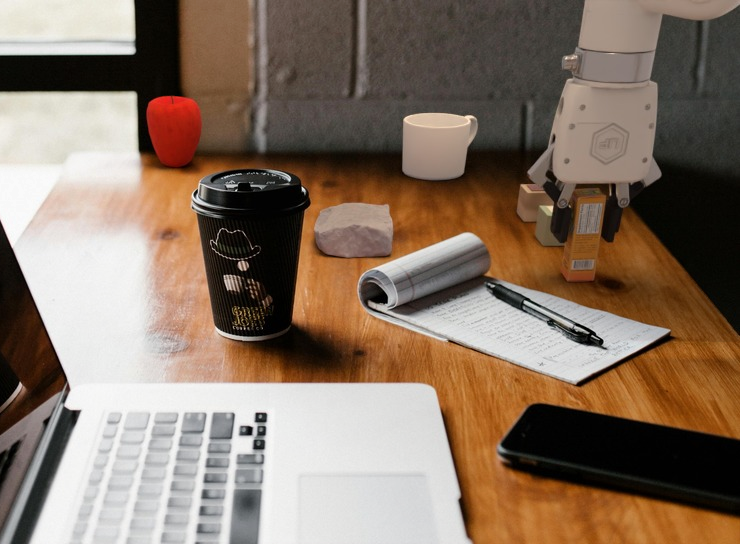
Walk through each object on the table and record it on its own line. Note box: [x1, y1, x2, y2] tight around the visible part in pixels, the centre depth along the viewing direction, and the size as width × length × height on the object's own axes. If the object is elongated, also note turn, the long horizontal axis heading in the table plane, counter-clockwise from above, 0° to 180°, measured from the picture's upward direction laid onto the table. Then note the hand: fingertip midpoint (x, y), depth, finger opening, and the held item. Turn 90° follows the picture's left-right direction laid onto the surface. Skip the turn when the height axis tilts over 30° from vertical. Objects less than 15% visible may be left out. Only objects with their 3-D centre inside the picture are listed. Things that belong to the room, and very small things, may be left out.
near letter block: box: [534, 204, 571, 247], centre depth 110 cm, size 4×4×4 cm
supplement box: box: [560, 187, 607, 283], centre depth 97 cm, size 3×3×10 cm
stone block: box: [313, 202, 394, 259], centre depth 110 cm, size 12×5×10 cm
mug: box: [401, 112, 479, 181], centre depth 137 cm, size 13×10×8 cm
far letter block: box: [516, 183, 554, 223], centre depth 118 cm, size 4×4×4 cm
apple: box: [146, 95, 203, 168], centre depth 141 cm, size 9×9×11 cm
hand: (582, 237), depth 98 cm, fingers open, 4 cm apart
